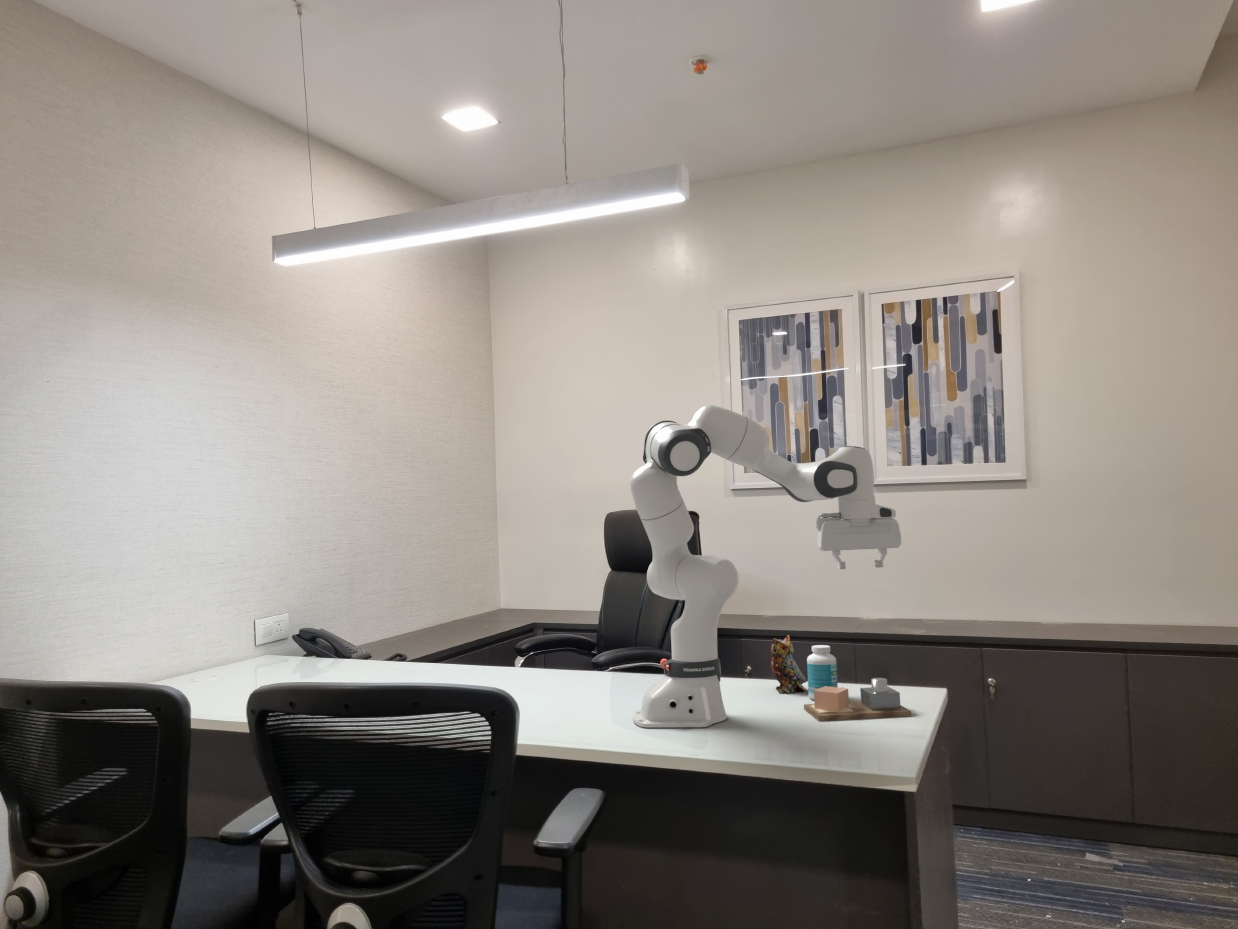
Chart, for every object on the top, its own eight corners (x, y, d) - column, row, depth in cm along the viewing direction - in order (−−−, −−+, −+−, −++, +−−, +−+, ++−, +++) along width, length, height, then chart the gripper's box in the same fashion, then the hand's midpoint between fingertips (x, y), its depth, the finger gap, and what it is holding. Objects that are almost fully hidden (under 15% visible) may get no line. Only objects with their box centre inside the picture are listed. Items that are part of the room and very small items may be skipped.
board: (818, 721, 193) (818, 714, 193) (804, 709, 205) (803, 703, 205) (911, 716, 194) (911, 709, 194) (891, 704, 206) (891, 698, 206)
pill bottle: (839, 702, 211) (836, 648, 211) (809, 702, 212) (806, 648, 213) (837, 696, 218) (834, 643, 219) (808, 695, 219) (805, 644, 220)
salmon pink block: (814, 708, 199) (813, 690, 199) (825, 703, 203) (824, 686, 204) (838, 711, 195) (837, 693, 195) (849, 706, 200) (848, 688, 200)
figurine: (802, 695, 220) (799, 638, 221) (768, 693, 224) (766, 637, 225) (809, 689, 228) (806, 633, 228) (777, 687, 231) (774, 632, 232)
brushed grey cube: (871, 710, 196) (870, 683, 196) (861, 703, 203) (859, 677, 203) (900, 708, 196) (899, 681, 197) (889, 702, 203) (887, 675, 204)
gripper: (819, 513, 202) (822, 570, 201) (902, 510, 203) (905, 567, 202) (812, 513, 208) (815, 569, 207) (892, 510, 209) (895, 565, 208)
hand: (860, 568), depth 205 cm, fingers open, 8 cm apart
